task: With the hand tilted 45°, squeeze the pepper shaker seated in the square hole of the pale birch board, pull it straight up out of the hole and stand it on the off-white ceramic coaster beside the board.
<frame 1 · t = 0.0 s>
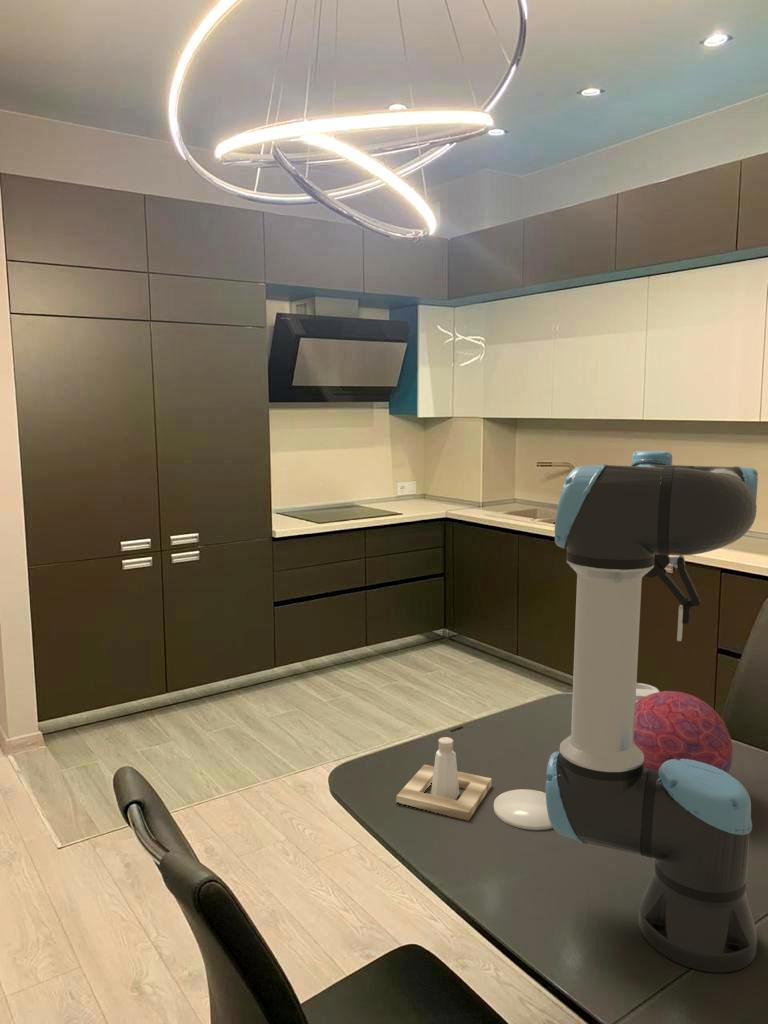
hand: (643, 635, 152), 28 cm above the table, tool pointing down, fingers open, 13 cm apart
birch board: (445, 794, 144), on the table
coffee cup: (635, 758, 160), on the table
pepper shaker: (445, 795, 144), resting in birch board
ceramic coaster: (529, 810, 138), on the table
decorative sphere: (671, 796, 144), on the table
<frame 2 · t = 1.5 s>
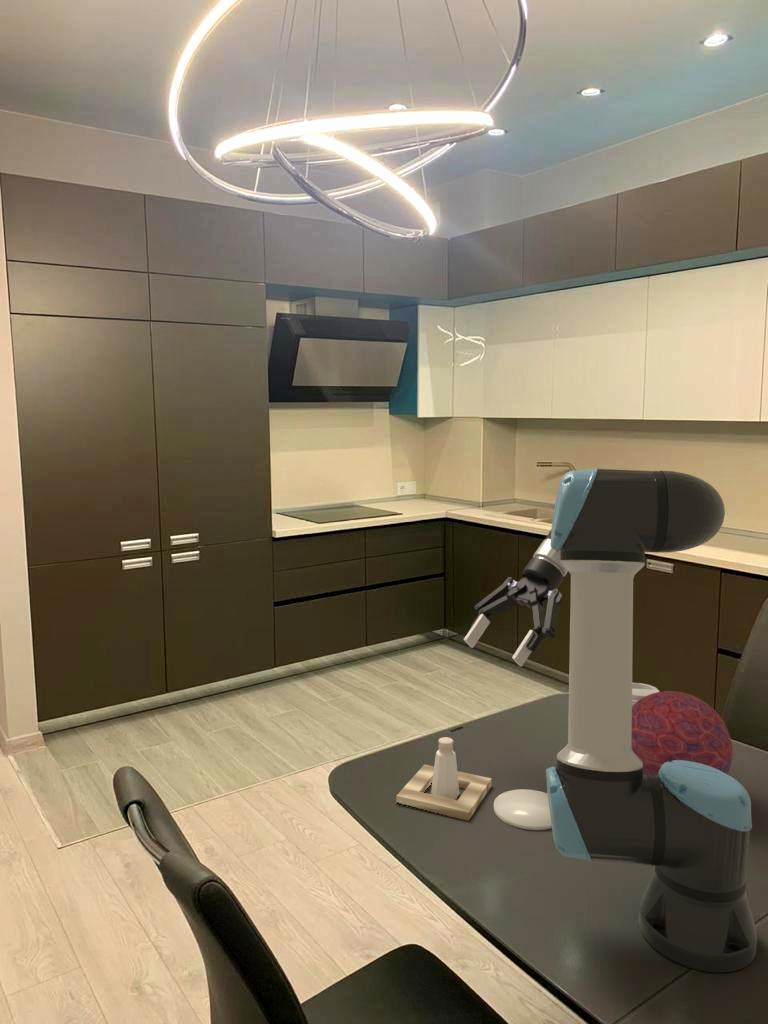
hand: (491, 652, 147), 26 cm above the table, tool tilted 45°, fingers open, 13 cm apart
nothing on the table moved.
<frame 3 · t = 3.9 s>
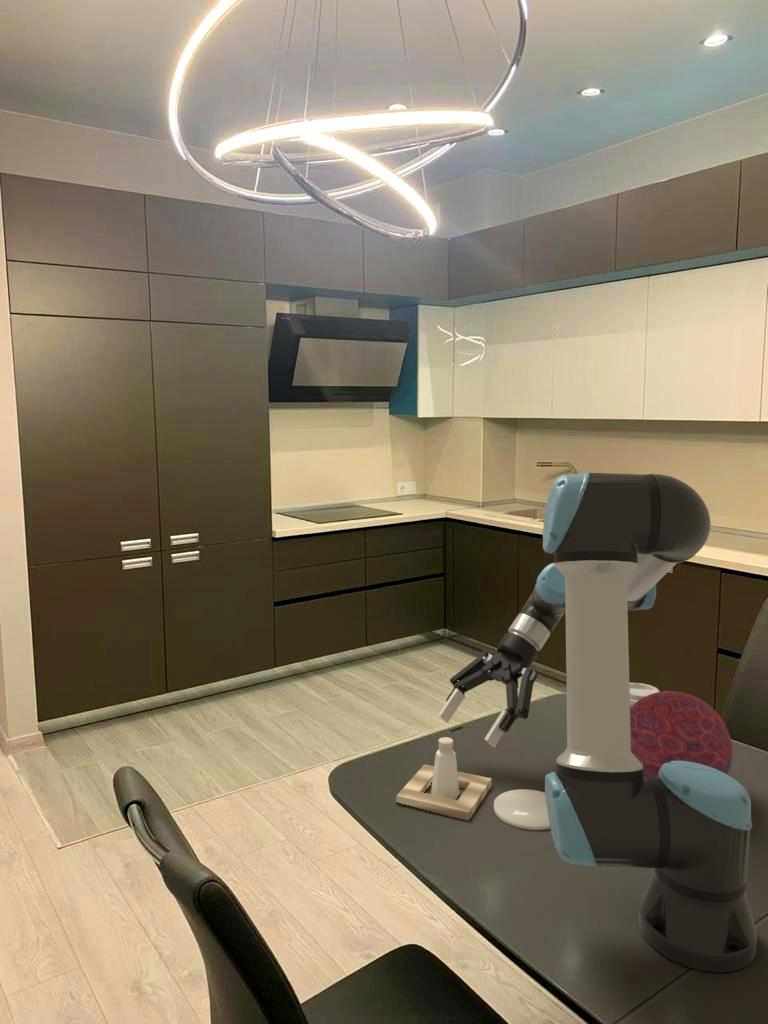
hand: (465, 731, 147), 11 cm above the table, tool tilted 45°, fingers open, 13 cm apart
nothing on the table moved.
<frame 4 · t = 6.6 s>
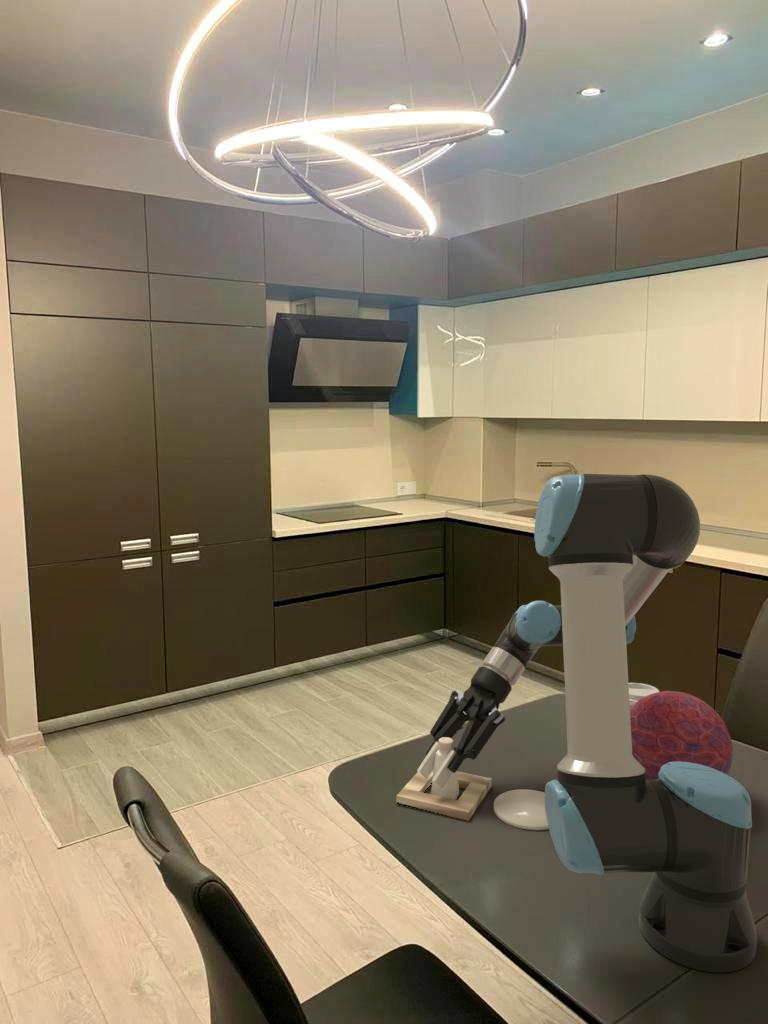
hand: (429, 779, 141), 4 cm above the table, tool tilted 45°, fingers closed on pepper shaker, 4 cm apart
pepper shaker: (445, 795, 144), resting in birch board, touching gripper
everything else where it was.
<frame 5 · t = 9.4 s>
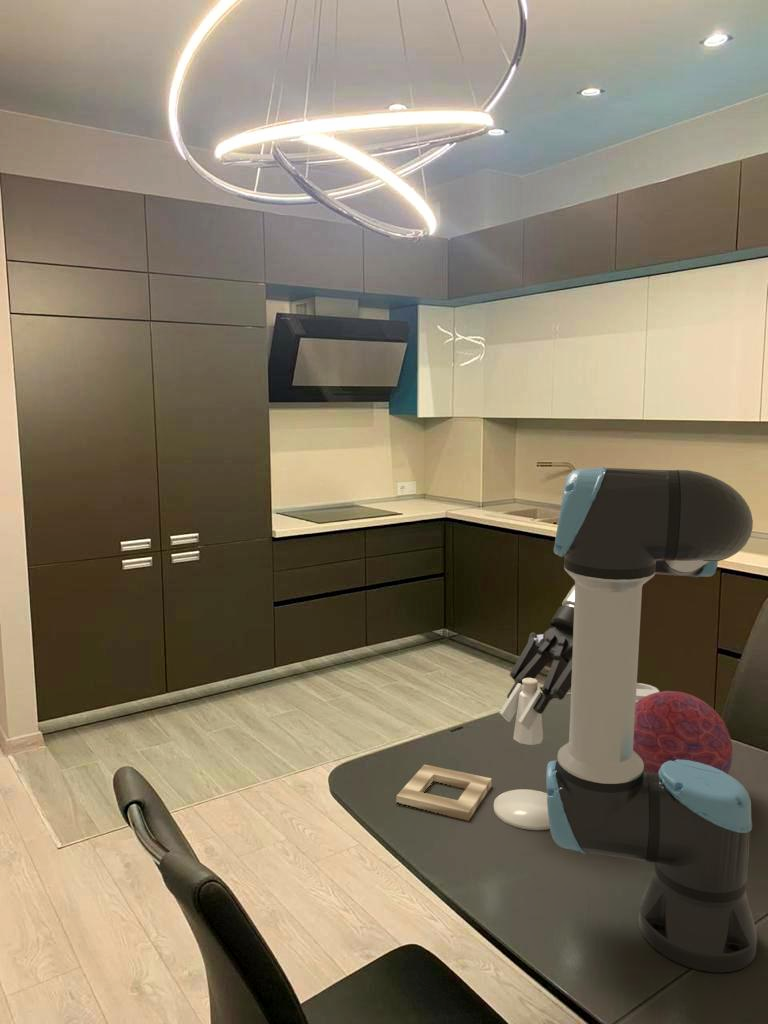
hand: (513, 721, 134), 18 cm above the table, tool tilted 45°, fingers closed on pepper shaker, 4 cm apart
pepper shaker: (528, 740, 137), point 14 cm above the table, touching gripper
everything else where it was.
when the fingers open (6 cm above the table, at t = 12.5 s): pepper shaker drops 1 cm, resting on ceramic coaster.
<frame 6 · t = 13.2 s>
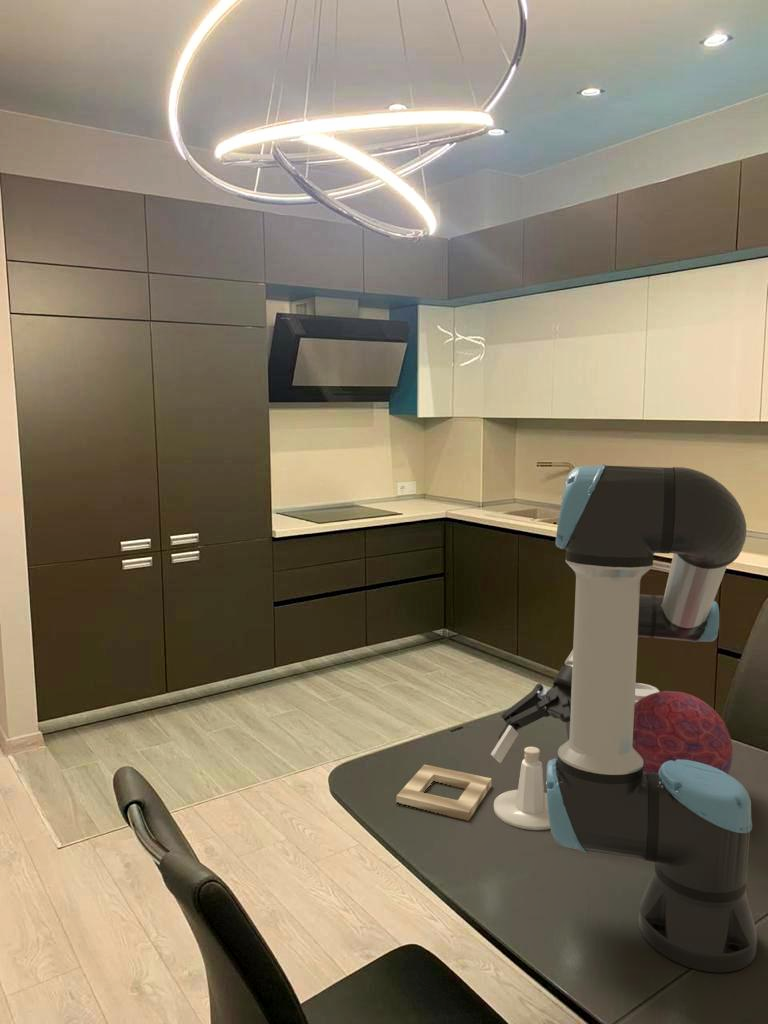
hand: (521, 772, 136), 8 cm above the table, tool tilted 45°, fingers open, 13 cm apart
pepper shaker: (530, 807, 138), point 1 cm above the table, touching ceramic coaster
everything else where it was.
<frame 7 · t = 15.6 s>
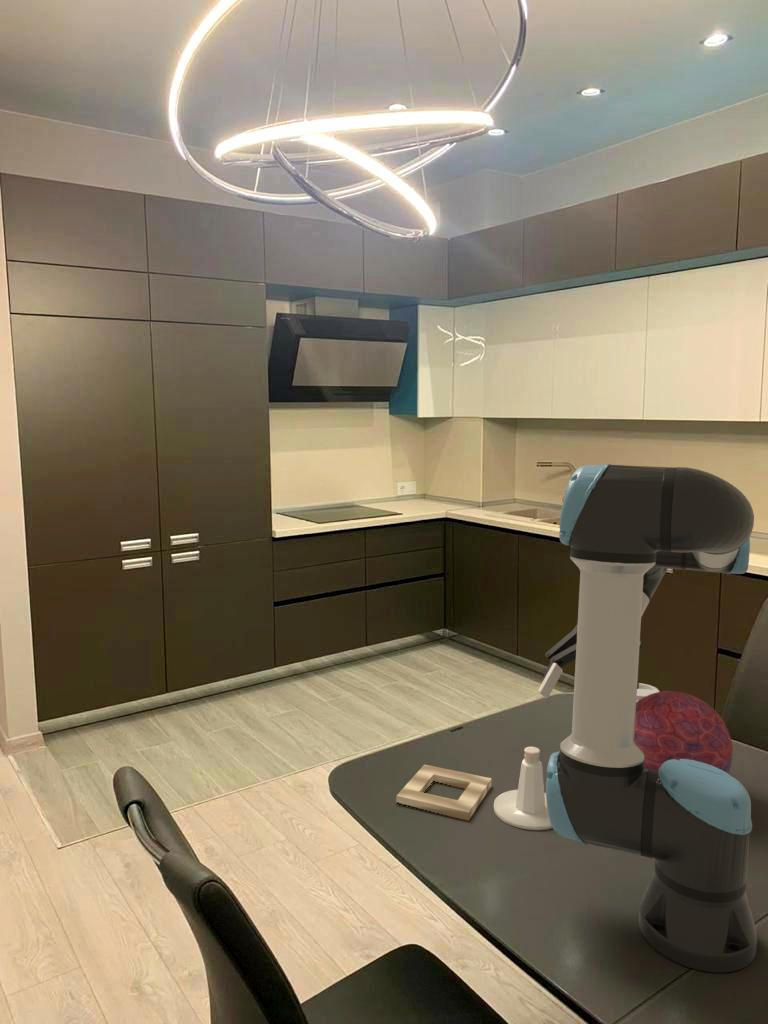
hand: (570, 705, 141), 18 cm above the table, tool tilted 40°, fingers open, 13 cm apart
nothing on the table moved.
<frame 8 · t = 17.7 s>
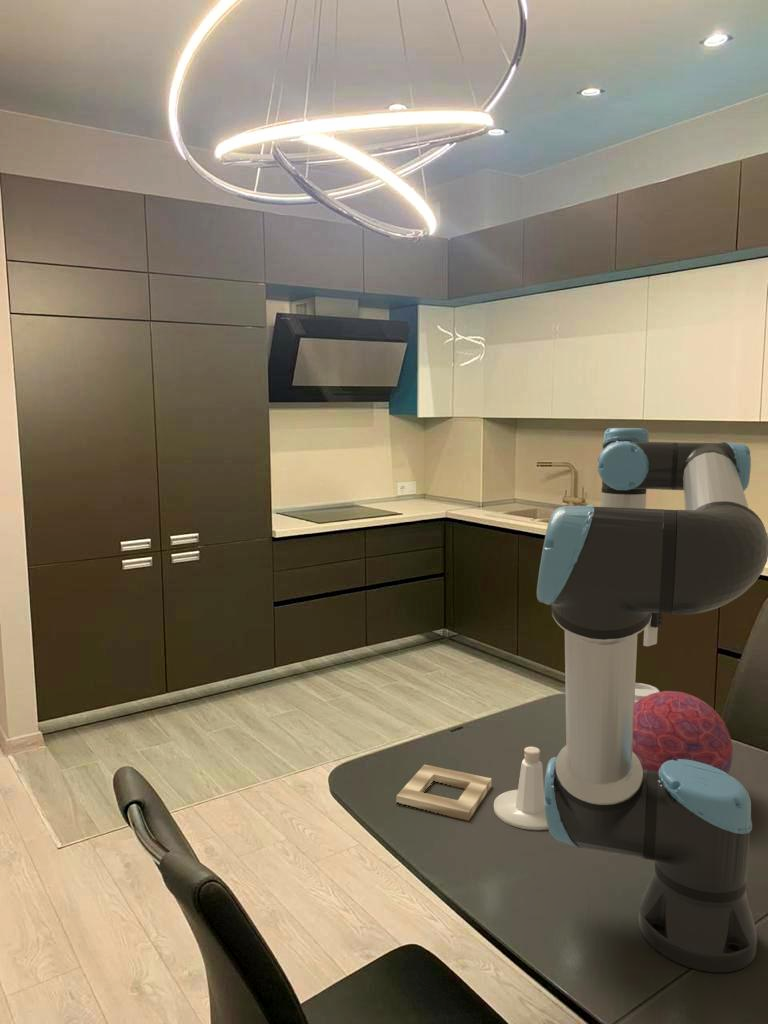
hand: (617, 635, 135), 33 cm above the table, tool pointing down, fingers open, 13 cm apart
nothing on the table moved.
at the end: pepper shaker inside the target area on the ceramic coaster (0.1 cm from its centre), point 0.6 cm above the ceramic coaster's base; pepper shaker tilted 0°; the gripper is holding nothing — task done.
